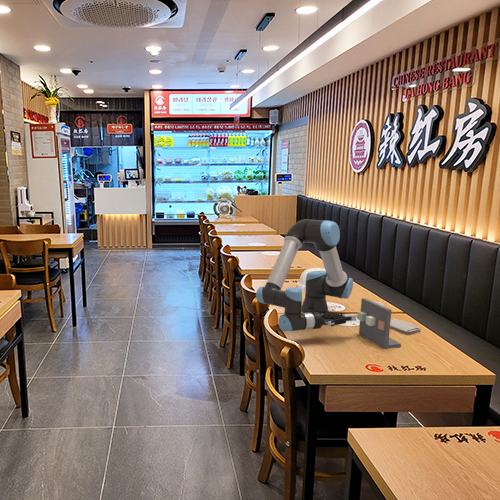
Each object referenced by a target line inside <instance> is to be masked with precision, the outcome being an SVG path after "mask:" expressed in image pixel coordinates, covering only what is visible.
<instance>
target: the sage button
mask: <svg viewBox="0 0 500 500" xmlns="http://www.w3.org/2000/svg"><path fill="white" fill-rule="evenodd" d="M356 315H357V318H356V320H358V321H359V322H360V321H366V316H367V313H365V312H363V311H362V312H361V311H357V314H356Z"/></svg>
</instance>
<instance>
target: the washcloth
mask: <svg viewBox="0 0 500 500" xmlns="http://www.w3.org/2000/svg"><path fill="white" fill-rule="evenodd" d="M390 330H392V331H394V332H397V333H401V334H403V335H406V336H408V335H413V334H417V333H420V332H422V330H421V328H420V327H419V326H416V325H415V324H413V323H412V322H407V321H405V320H402V319H398V318H391V321H390Z"/></svg>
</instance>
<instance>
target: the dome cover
mask: <svg viewBox="0 0 500 500" xmlns="http://www.w3.org/2000/svg"><path fill="white" fill-rule="evenodd" d="M312 271H326V270H325V267H323V268H322V267H311V268H307V269H305V270H303V271H302V273H301V274H300V276H299V281H297V283H296V288H299V289H301V290H302V292H304V291H305V290H306V276H307V273H308V272H312Z"/></svg>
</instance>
